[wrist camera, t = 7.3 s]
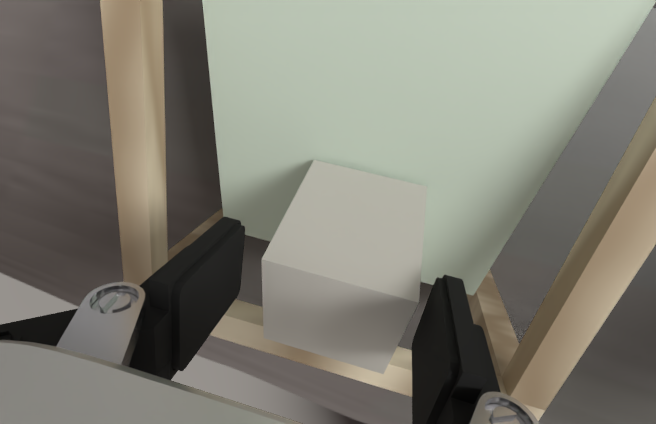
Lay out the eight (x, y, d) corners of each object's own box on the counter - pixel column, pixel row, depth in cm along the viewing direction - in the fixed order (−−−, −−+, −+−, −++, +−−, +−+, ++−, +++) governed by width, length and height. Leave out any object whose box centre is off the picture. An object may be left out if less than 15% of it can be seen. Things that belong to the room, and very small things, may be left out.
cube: (427, 186, 15) (418, 302, 11) (398, 261, 18) (383, 373, 14) (314, 159, 16) (261, 259, 11) (306, 237, 19) (263, 337, 14)
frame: (621, -36, 17) (934, -176, 7) (480, 282, 26) (530, 433, 15) (251, -92, 20) (78, -263, 9) (230, 217, 28) (126, 309, 18)
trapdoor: (697, -50, 10) (728, -48, 9) (486, 282, 19) (489, 303, 18) (187, -124, 12) (162, -130, 11) (221, 213, 21) (209, 227, 20)
